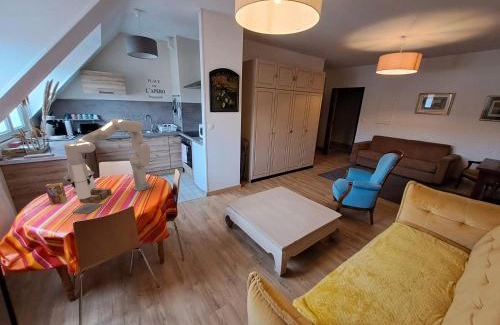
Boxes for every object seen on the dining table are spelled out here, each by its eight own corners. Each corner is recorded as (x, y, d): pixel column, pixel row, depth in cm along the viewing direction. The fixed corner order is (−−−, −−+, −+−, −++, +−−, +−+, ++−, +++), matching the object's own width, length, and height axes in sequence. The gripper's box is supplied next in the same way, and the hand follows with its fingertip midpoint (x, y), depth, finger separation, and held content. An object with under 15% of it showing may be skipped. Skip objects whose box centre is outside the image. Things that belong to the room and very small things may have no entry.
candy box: (68, 200, 154) (62, 182, 150) (65, 203, 151) (59, 184, 146) (53, 201, 152) (48, 183, 147) (50, 204, 148) (44, 186, 143)
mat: (102, 204, 150) (101, 203, 149) (89, 213, 138) (89, 212, 138) (86, 204, 150) (86, 203, 150) (72, 213, 138) (72, 212, 138)
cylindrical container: (78, 200, 136) (69, 165, 128) (77, 196, 141) (68, 163, 133) (91, 197, 141) (83, 163, 133) (90, 193, 146) (82, 161, 138)
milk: (80, 194, 164) (72, 164, 156) (74, 190, 170) (66, 162, 162) (96, 189, 174) (90, 161, 166) (90, 185, 180) (83, 158, 172)
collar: (111, 194, 166) (110, 188, 165) (98, 202, 152) (97, 197, 151) (94, 193, 166) (93, 188, 165) (80, 202, 153) (78, 196, 151)
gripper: (91, 158, 141) (96, 180, 147) (57, 162, 130) (64, 187, 135) (92, 160, 136) (98, 184, 141) (58, 165, 124) (65, 191, 130)
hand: (81, 185), depth 138 cm, fingers closed on cylindrical container, 7 cm apart
